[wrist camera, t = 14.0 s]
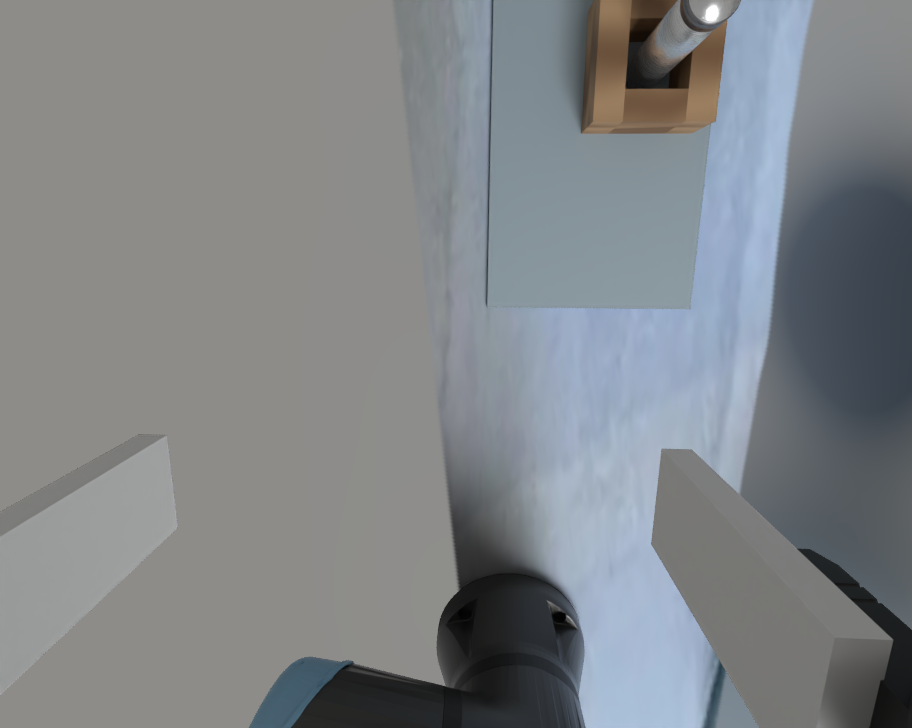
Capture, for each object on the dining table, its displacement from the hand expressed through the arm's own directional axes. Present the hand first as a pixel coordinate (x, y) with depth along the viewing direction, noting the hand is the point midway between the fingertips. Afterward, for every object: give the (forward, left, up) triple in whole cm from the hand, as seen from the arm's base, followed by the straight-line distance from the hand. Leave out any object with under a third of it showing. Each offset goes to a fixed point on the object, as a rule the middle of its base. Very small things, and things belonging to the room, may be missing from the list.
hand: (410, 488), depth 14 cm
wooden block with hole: (+20, -15, -34) cm, 42 cm away
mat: (+14, -12, -34) cm, 39 cm away
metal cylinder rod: (+20, -15, -34) cm, 42 cm away
